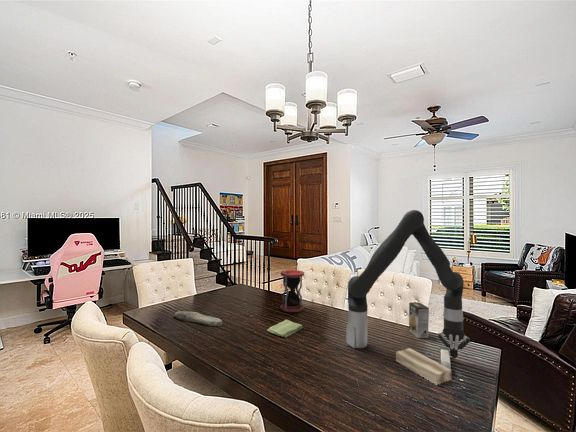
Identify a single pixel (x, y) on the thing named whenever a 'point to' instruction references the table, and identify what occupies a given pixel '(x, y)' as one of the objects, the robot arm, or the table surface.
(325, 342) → the table surface
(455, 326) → the robot arm
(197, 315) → the elongated rock
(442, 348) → the folding leg
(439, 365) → the rail
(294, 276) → the hourglass
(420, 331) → the coffee box
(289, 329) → the washcloth
